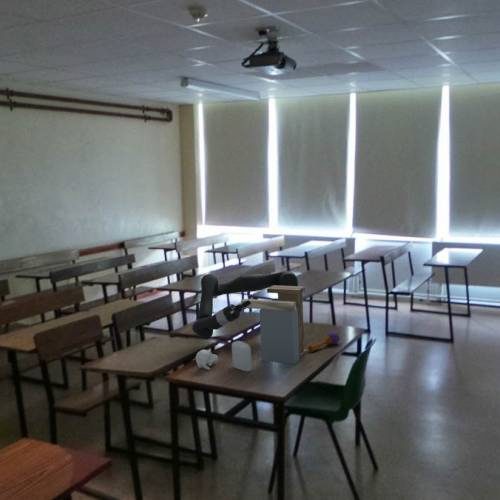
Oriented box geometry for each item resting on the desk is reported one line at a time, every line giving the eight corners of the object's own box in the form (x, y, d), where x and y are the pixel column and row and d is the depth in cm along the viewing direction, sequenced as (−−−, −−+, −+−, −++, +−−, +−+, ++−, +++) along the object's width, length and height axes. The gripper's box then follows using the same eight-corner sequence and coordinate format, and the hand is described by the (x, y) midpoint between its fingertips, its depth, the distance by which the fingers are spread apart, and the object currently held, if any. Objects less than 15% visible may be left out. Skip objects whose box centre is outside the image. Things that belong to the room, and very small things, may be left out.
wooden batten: (244, 306, 264) (244, 298, 264) (296, 309, 253) (295, 301, 253) (241, 307, 261) (240, 300, 261) (293, 310, 250) (293, 303, 250)
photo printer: (231, 367, 251) (229, 340, 250) (238, 364, 254) (237, 338, 252) (245, 372, 243) (244, 345, 242) (253, 370, 246) (252, 343, 245)
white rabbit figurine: (194, 350, 250) (211, 345, 260) (194, 369, 250) (211, 363, 260) (204, 352, 246) (221, 347, 256) (204, 371, 247) (221, 365, 256)
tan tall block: (276, 349, 274) (273, 285, 270) (307, 352, 267) (304, 286, 263) (269, 354, 267) (266, 288, 263) (301, 357, 260) (299, 290, 256)
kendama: (304, 343, 270) (331, 330, 283) (307, 354, 270) (334, 342, 283) (313, 343, 265) (340, 330, 278) (316, 355, 266) (343, 342, 278)
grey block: (267, 356, 265) (265, 306, 261) (299, 359, 258) (297, 308, 255) (261, 360, 258) (259, 309, 255) (294, 364, 251) (292, 311, 248)
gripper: (238, 318, 273) (263, 303, 266) (224, 325, 260) (251, 310, 253) (230, 304, 273) (255, 289, 266) (216, 311, 261) (243, 296, 254)
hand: (253, 299), depth 260 cm, fingers open, 8 cm apart
